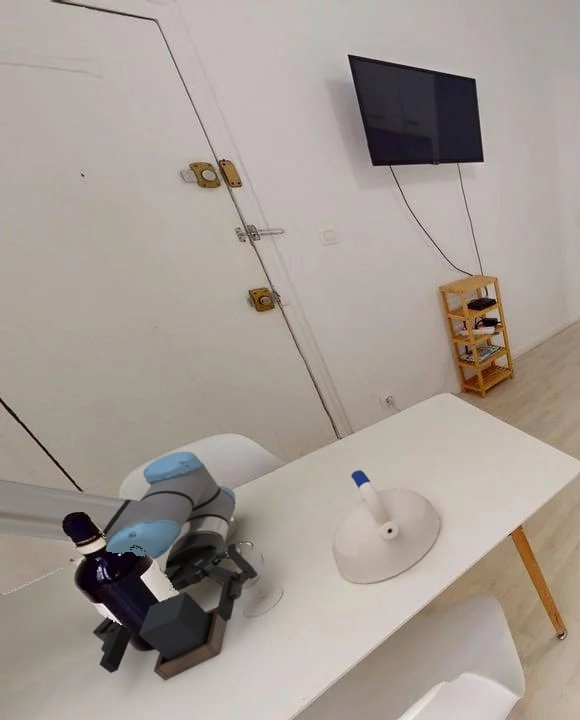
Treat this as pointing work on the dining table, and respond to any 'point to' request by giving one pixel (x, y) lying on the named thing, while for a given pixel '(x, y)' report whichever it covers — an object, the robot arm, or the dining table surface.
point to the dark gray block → (176, 626)
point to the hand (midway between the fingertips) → (168, 640)
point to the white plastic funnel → (383, 533)
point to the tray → (197, 655)
